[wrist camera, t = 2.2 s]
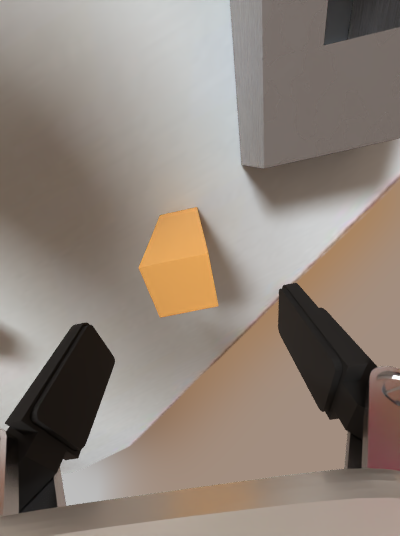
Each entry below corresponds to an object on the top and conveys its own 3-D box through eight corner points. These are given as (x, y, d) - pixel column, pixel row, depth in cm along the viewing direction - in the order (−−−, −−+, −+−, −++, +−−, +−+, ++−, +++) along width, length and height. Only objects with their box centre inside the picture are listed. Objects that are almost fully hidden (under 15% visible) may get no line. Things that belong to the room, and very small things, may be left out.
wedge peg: (160, 215, 20) (138, 267, 11) (196, 207, 20) (208, 253, 10) (170, 248, 22) (159, 317, 13) (203, 241, 22) (218, 306, 12)
